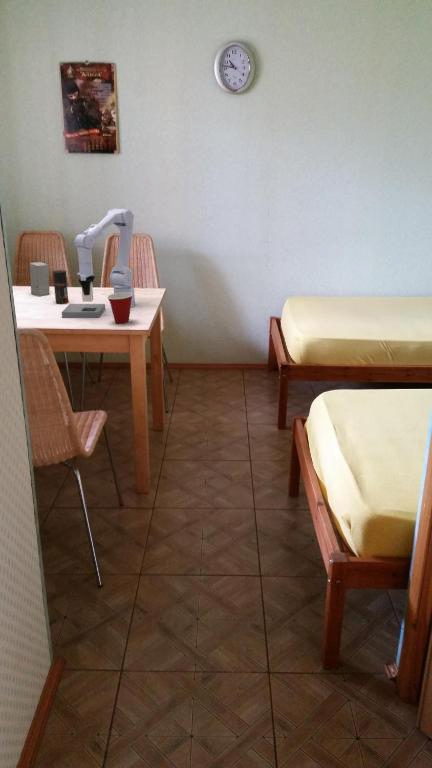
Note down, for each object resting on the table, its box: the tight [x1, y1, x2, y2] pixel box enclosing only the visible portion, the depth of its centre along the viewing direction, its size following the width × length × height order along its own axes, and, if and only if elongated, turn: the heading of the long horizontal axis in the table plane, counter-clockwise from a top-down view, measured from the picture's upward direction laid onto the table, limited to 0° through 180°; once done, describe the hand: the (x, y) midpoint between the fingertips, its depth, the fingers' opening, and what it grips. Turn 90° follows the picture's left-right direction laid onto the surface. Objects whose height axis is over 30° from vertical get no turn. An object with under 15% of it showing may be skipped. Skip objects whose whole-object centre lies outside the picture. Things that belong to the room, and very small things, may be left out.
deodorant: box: [52, 269, 69, 305], centre depth 295 cm, size 6×6×15 cm
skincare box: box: [29, 261, 51, 297], centre depth 312 cm, size 8×7×16 cm
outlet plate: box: [61, 303, 106, 319], centre depth 277 cm, size 16×16×2 cm
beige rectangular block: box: [80, 282, 94, 303], centre depth 271 cm, size 4×4×8 cm
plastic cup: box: [106, 292, 133, 325], centre depth 262 cm, size 11×11×12 cm
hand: (87, 293), depth 272 cm, fingers closed on beige rectangular block, 4 cm apart
